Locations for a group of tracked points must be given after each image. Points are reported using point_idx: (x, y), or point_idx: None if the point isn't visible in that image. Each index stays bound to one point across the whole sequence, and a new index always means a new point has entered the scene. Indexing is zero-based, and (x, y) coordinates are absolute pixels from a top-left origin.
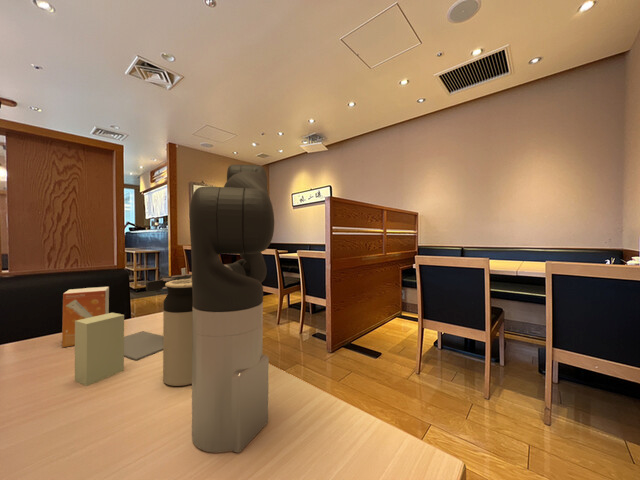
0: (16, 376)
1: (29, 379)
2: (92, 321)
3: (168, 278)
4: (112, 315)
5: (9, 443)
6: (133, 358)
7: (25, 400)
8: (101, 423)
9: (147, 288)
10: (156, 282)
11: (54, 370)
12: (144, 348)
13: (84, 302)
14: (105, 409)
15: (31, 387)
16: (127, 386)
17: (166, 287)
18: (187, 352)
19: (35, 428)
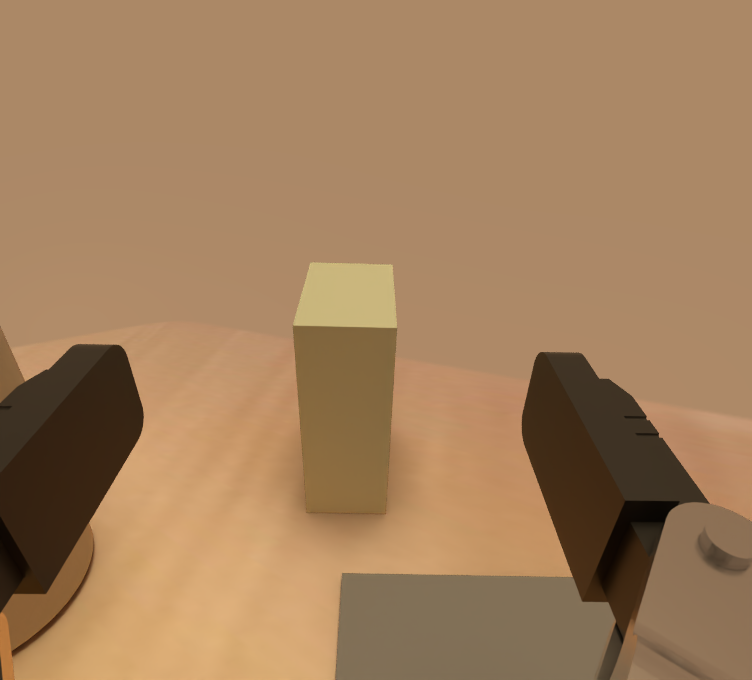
0: None
1: (502, 400)
2: (324, 273)
3: (722, 635)
4: (338, 311)
5: (244, 333)
6: (363, 574)
7: None
8: None
9: (526, 402)
10: (572, 435)
11: (519, 437)
12: (439, 678)
13: None
14: (161, 403)
15: (442, 389)
16: (193, 465)
17: (604, 667)
18: None
19: (246, 351)
